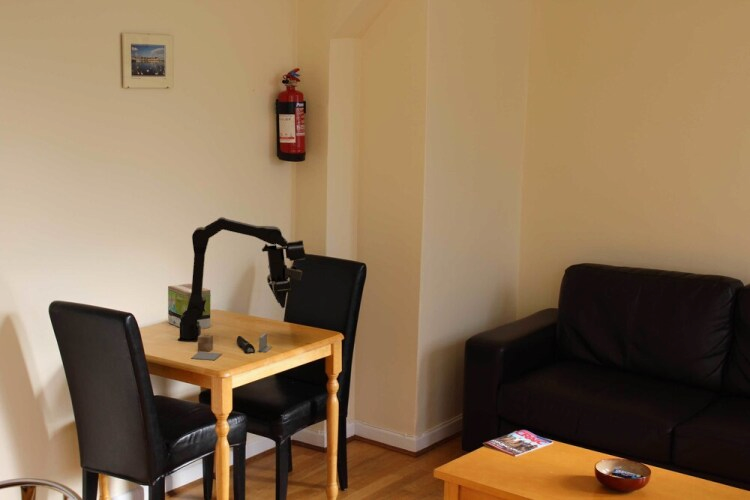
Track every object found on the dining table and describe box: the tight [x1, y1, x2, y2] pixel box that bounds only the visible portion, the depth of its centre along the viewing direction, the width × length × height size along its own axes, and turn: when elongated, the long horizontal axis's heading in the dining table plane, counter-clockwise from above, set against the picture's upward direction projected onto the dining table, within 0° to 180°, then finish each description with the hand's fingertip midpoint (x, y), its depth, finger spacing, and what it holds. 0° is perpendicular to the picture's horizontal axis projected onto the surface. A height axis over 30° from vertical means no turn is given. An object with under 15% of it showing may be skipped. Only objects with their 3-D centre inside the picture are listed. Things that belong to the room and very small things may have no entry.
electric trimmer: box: [236, 335, 256, 355], centre depth 320 cm, size 4×16×3 cm, turn 22°
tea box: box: [167, 283, 211, 330], centre depth 349 cm, size 15×10×15 cm
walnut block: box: [197, 333, 214, 353], centre depth 315 cm, size 4×4×5 cm
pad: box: [190, 351, 223, 361], centre depth 307 cm, size 8×8×1 cm
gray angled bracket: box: [257, 332, 272, 353], centre depth 319 cm, size 3×7×5 cm, turn 172°
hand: (281, 305), depth 332 cm, fingers open, 9 cm apart
